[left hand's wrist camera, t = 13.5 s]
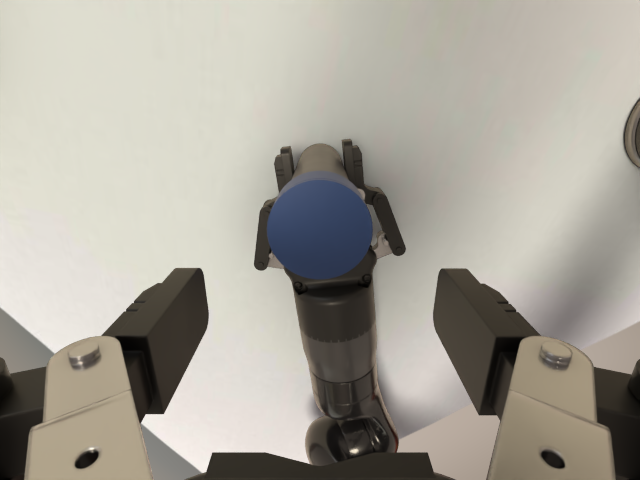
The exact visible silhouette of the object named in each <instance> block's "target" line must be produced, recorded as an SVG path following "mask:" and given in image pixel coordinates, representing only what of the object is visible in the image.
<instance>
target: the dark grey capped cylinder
mask: <svg viewBox="0 0 640 480" xmlns="http://www.w3.org/2000/svg"><path fill="white" fill-rule="evenodd" d="M311 171H329V172H333V173H336V174H339V175H341V176H343V177H345V178H346V179H348V177H347V174H346V171H345V169H344V166H343V163H342V161H341V158H340V156H339V154H338V152H337V151H336V150H335V149H334V148H333V147H331V146H329V145H326V144H314V145H312V146H310V147H308V148H307V149H305V151H304V152H303V153H302V155H301V157H300V159H299V162H298V164H297V167H296V169H295V172H294V175H293V177H292V179H293V178H295V177H297V176H299V175H301V174H304V173H307V172H311ZM348 180H349V179H348Z"/></svg>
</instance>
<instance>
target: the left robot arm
mask: <svg viewBox="0 0 640 480" xmlns="http://www.w3.org/2000/svg"><path fill="white" fill-rule="evenodd" d="M208 318H209V312H208V304H207V297H206V289H205V282H204V275H203V271H202V270H201V268H175V269H174V270H173V271H172V272H171V273H170V275H169V276H168V277H167V278H166V279H165V280H164V281H163V282H162V283H157V284H156V285H154V286H152V287H150V288H149V289H147V290H145V291H143V292H142V293H141V294H140V296H139V297H138V298H137V299H136V300H135V301H134V303H132V304H131V305H130V306H129V307H128V308H127V309H126V312H123V313H122V314H121V316H120V317H119V318H118V319H117V320H116V321H115V322H114V323H113V324H112V325H111V326H110V327H109V328H108V329H107V330H106V331H105V332H104V333H103V335H102V336H95V337H90V338H86V339H82V340H80V341H77V342H74V343H72V344H70V345H68V346H66V347H64V348H63V349H61V350H60V351H58V352H57V353H56V354H55V355H54V356H52V358H51V359H50V360H49V362H48V364H47V367H42V368H37V369H32V370H27V371H22V372H17V373H12V374H10V373H9V370H8V368H7V365H6V363H5V361H4V359H2V358H0V480H154V478H153V474H152V470H151V466H150V462H149V458H148V454H147V449H146V445H145V441H144V437H143V433H142V429H141V425H140V423H141V422H142V420H143V418H144V416H145V414H164V412H165V410H166V409H167V407H168V405H169V403H170V401H171V399H172V397H173V395H174V393H175V391H176V389H177V387H178V385H179V383H180V381H181V379H182V377H183V375H184V373H185V371H186V369H187V367H188V365H189V363H190V361H191V359H192V357H193V355H194V353H195V351H196V349H197V347H198V345H199V343H200V341H201V339H202V337H203V335H204V333H205V331H206V329H207V325H208ZM433 321H434V327H435V330H436V332H437V334H438V336H439V338H440V340H441V342H442V344H443V346H444V348H445V350H446V352H447V354H448V356H449V358H450V360H451V362H452V364H453V365H454V367H455V369H456V371H457V373H458V375H459V377H460V379H461V381H462V383H463V385H464V387H465V389H466V391H467V393H468V395H469V397H470V399H471V401H472V403H473V404H474V406H475V408H476V410H477V412H478V414H479V415H497V416H498V418H499V419H500V425H499V429H498V433H497V437H496V441H495V445H494V449H493V454H492V458H491V462H490V466H489V470H488V474H487V478H486V480H640V359H639V360H638V361H637V363H636V365H635V368H634V370H633V373H632V375H631V374H626V373H621V372H616V371H611V370H606V369H601V368H596V367H593V364H592V362H591V360H590V359H589V358H588V357H587V356H586V355H585V354H584V353H583V352H582V351H580V350H579V349H577V348H576V347H574V346H572V345H570V344H568V343H566V342H563V341H560V340H558V339H554V338H550V337H545V336H541V335H540V334H539V333H538V332H537V331H536V330H535V329H534V328H533V327H532V326H531V325H530V324H529V323H528V322H527V321H526V320H525V319H524V318H523V317H522V316H521V315H520V313H519V312H516V309H515V308H514V307H513V306H512V305H511V304H509V303H508V301H507V300H506V299H505V298H504V297H503V296H502V295H501V294H500V293H499V292H498V291H496V290H494V289H493V288H491V287H489V286H487V285H486V284H480V283H479V282H478V280H477V279H476V278H475V277H474V276H473V275H472V274H471V273H470V272H469V270H467V269H441V270H440V272H439V275H438V281H437V289H436V296H435V303H434V311H433ZM185 480H455V479H453V478H450V477H447V476H444V475H442V474H438V473H435V472H433V469H432V465H431V462H430V459H429V456H428V453H371V454H367V455H363V456H360V457H356V458H352V459H348V460H344V461H340V462H336V463H333V464H329V465H324V466H316V465H311V464H307V463H304V462H300V461H296V460H292V459H288V458H284V457H280V456H277V455H273V454H269V453H212V456H211V459H210V462H209V465H208V469H207V472H205V473H202V474H198V475H196V476H193V477H190V478H188V479H185Z"/></svg>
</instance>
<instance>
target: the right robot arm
mask: <svg viewBox="0 0 640 480" xmlns="http://www.w3.org/2000/svg"><path fill="white" fill-rule="evenodd" d="M625 145H626V150H627V153H628V155H629V157H630V159H631V160H632V161H633V163H635V164H636V165H637V166H638V167H640V100H639V102H638V103H637V104H636V106H635V108H634V109H633V111H632V113H631V115H630V118H629V120H628V123H627V127H626V132H625ZM342 148H343V158H344V169H345V171H346V174H347V177H348V179H349V181H350V182H352V183H353V184H354V185H355V186H356V188H357V189H358V190H359V192H360V193H361V195H362V197H363V199H364V201H365V203H366V204H370V205H373V207H374V209H375V212H376V214H377V217H378V219H379V222H380V225H381V227H382V230H381V231H379V232H378V233H377V236H376V238H377V243H376V244H375V245H374V246H373V247H372V246H371V245H370V247H369V249H368V251H367V253H366V255H365V256H364V258H363V259H362V260H361V261H360V262H359V264H358V265H356V266H355V267H354V268H353V269H351V270H350V271H348V272H347V273H345V274H343V275H340V276H338V277H334V278H330V279H310V278H306V277H302V276H299V275H297V274H295V273H293V272H291V271H290V270H288V269H287V268H286V267H284V266H283V265H282V264H281V263H280V262H279V261H278V259H277V258H276V257H275V255H274V254H273V252H272V250H271V248H270V245H269V242H268V237H267V222H268V218H269V214H270V212H271V209H272V207H273V205H274V203H275V201H276V199H277V197H278V196H277V197H276V198H274V199H272V200H267V201H266V202H265V203H264V206H263V207H262V209H261V210H260V215H259V224H258V233H257V242H256V251H255V260H254V266H255V268H256V269H257V270H265V269H266V268H267V267H274V268H280V269H284V270H285V273H286V274H287V275H288V276H289V278H290V279H291V281H292V285H293V290H294V296H295V302H296V308H297V314H298V320H299V326H300V332H301V337H302V343H303V348H304V352H305V355H306V357H307V360H308V364H309V370H310V376H311V382H312V388H313V394H314V398H315V401H316V404H317V406H318V408H319V409H320V410H321V412H322V413H323V414H325V416H322V417H320V418H318V419H316V420H315V421H313V422H312V423H311V425H310V426H309V428H308V430H307V433H306V438H305V448H306V454H307V457H308V460H309V463H310V464H311V465H316V466H324V465H329V464H333V463H336V462H340V461H344V460H348V459H352V458H356V457H360V456H363V455H367V454H371V453H396V452H397V449H398V443H399V440H398V434H397V431H396V428H395V426H394V423H393V421H392V419H391V417H390V415H389V413H388V411H387V409H386V407H385V404H384V402H383V399H382V396H381V393H380V389H379V385H378V376H377V363H376V347H377V331H376V319H375V304H374V291H373V278H372V272H373V268H374V266H375V264H376V262H377V259H378V258H381V257H383V256H386V255H388V254H391V253H393V254H394V255H396V256H400V255H403V254H404V253H405V250H406V248H405V245H404V242H403V239H402V237H401V234H400V231H399V229H398V226H397V223H396V221H395V218H394V215H393V213H392V210H391V207H390V205H389V202H388V199H387V197H386V196H385V194H384V193H383V191H382V190H381V189H380V188H378V187H375V188H373V187H369V186H366V185H365V184H364V180H363V167H362V154H361V151H360V149H359V147H358V146H357V145H356V146H352V140H351V139H345V140H342ZM274 165H275V171H276V177H277V183H278V189H279V193H280V191H281V190H282V189H283V187H284V186H285V185H286V184H287V183H288V182H289V181H291V180H292V177H293V175H294V172H295V170H294V164H293V157H292V150H291V146H287V147H282V148H281V155H277V156H276V158H275V163H274Z"/></svg>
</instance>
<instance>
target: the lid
mask: <svg viewBox="0 0 640 480" xmlns="http://www.w3.org/2000/svg"><path fill="white" fill-rule="evenodd" d="M372 233H373V226H372V219H371V215H370V213H369V210H368V208H367V206H366V203H365V201H364V199H363V197H362V195H361V193H360V192H359V190H358V189H357V188H356V186H355V185H354V184H353V183H352V182H350V181H349V180H348V179H346V178H345V177H343V176H341V175H339V174H336V173H333V172H329V171H311V172H307V173H304V174H301V175H299V176H297V177H295V178H293V179H292V180H291V181H289V182H288V183H287V184H286V185H285V186H284V187H283V189H282V190H281V191H280V193H279V195H278V197H277V199H276V201H275V203H274V205H273V207H272V209H271V212H270V214H269V218H268V222H267V237H268V242H269V245H270V248H271V250H272V252H273V254H274V255H275V257H276V258H277V259H278V261H279V262H280V263H281V264H282V265H283V266H284V267H286V268H287V269H288V270H290V271H291V272H293V273H295V274H297V275H299V276H302V277H306V278H310V279H330V278H334V277H338V276H340V275H343V274H345V273H347V272H348V271H350V270H351V269H353V268H354V267H355V266H356V265H358V264H359V262H360V261H361V260H362V259H363V258H364V256H365V255H366V253H367V251H368V249H369V247H370V244H371V240H372Z"/></svg>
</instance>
